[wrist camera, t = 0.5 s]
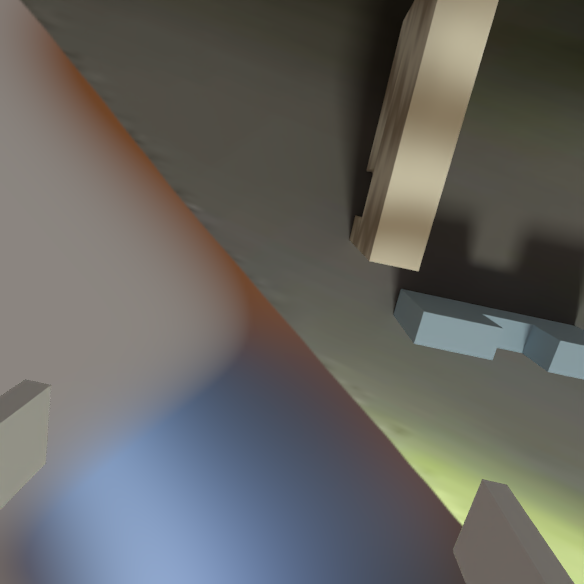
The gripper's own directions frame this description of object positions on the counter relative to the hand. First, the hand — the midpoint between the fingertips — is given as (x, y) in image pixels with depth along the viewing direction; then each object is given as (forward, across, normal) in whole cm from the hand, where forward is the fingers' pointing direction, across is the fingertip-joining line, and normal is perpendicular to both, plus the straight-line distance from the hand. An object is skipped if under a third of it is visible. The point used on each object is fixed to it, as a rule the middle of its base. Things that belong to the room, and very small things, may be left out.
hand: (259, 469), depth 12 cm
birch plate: (+24, +5, +14) cm, 28 cm away
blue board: (+24, +18, +1) cm, 30 cm away
